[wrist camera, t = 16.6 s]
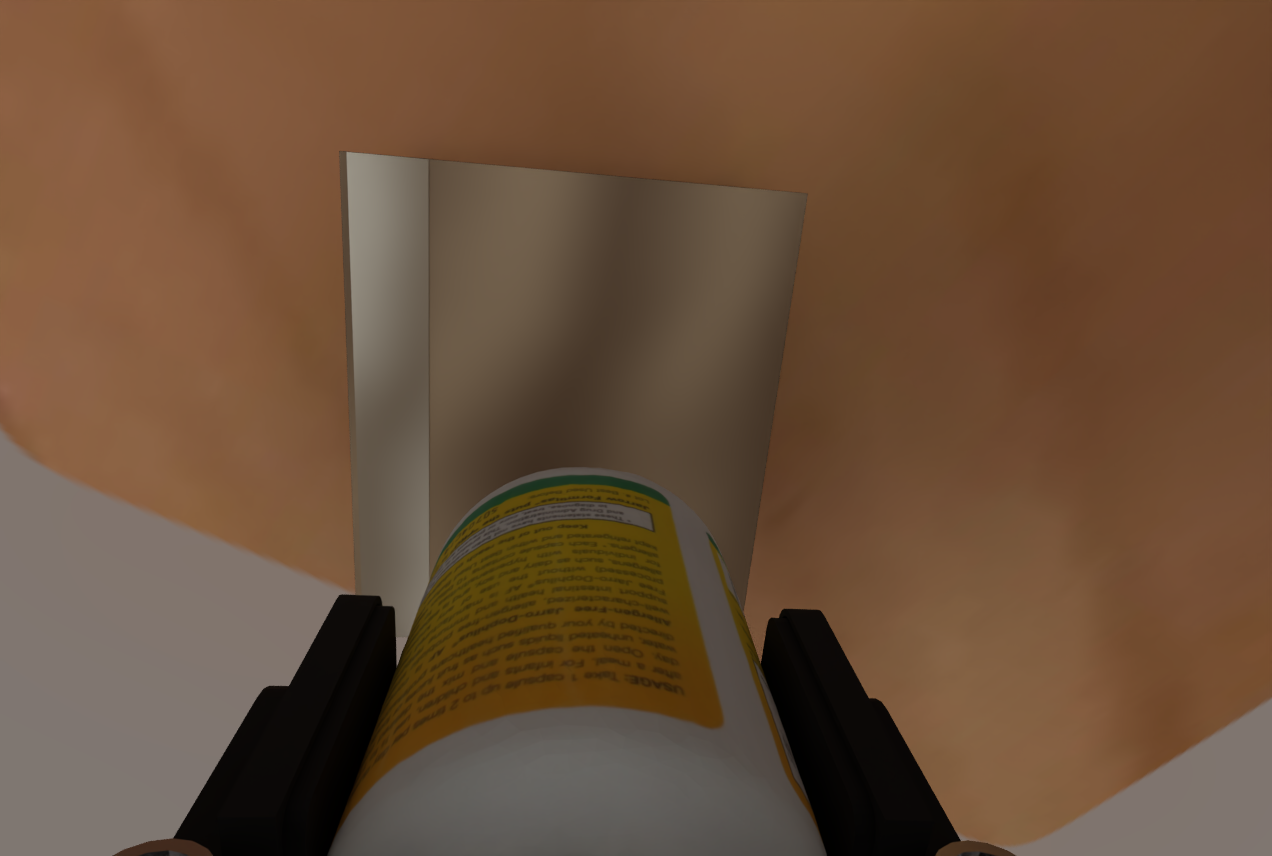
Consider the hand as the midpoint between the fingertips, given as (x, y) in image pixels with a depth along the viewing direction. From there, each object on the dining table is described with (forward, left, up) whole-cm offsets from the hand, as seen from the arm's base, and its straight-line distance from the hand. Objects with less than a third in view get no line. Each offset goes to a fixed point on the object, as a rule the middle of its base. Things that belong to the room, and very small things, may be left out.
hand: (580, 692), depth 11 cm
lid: (0, 0, -12) cm, 12 cm away
